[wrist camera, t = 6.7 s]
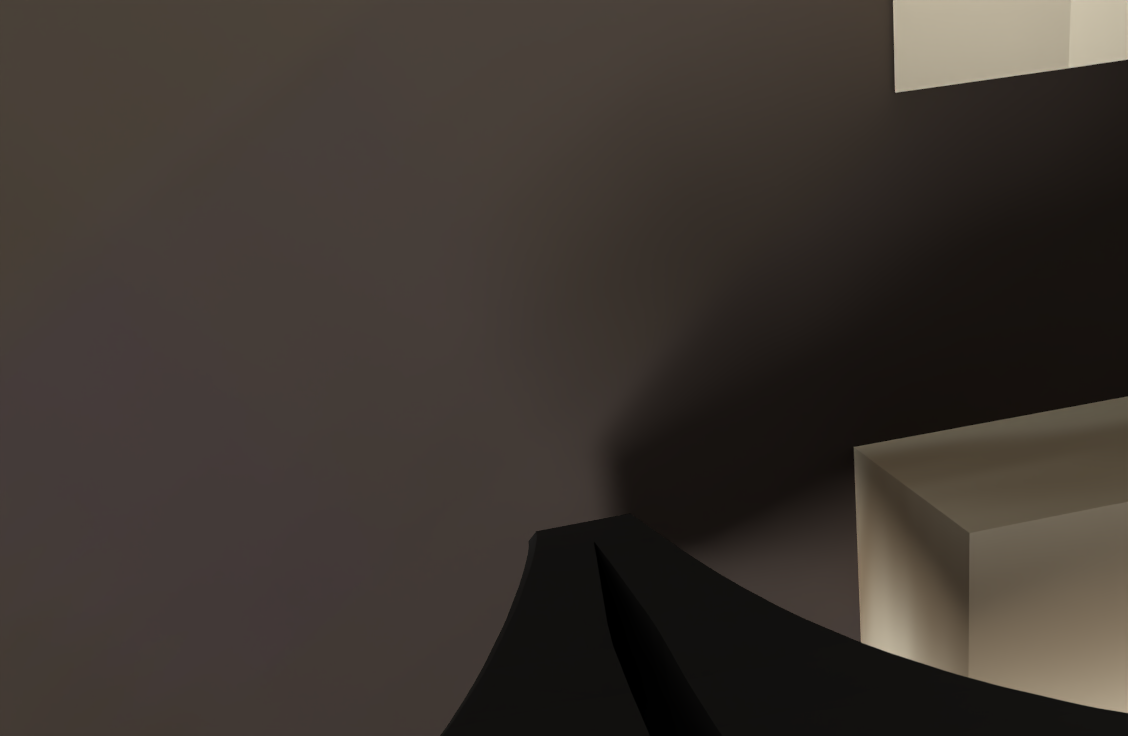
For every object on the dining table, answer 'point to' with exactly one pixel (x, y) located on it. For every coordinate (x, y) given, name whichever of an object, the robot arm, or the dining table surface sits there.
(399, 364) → the dining table surface
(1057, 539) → the slat
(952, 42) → the endcap with seated slat
